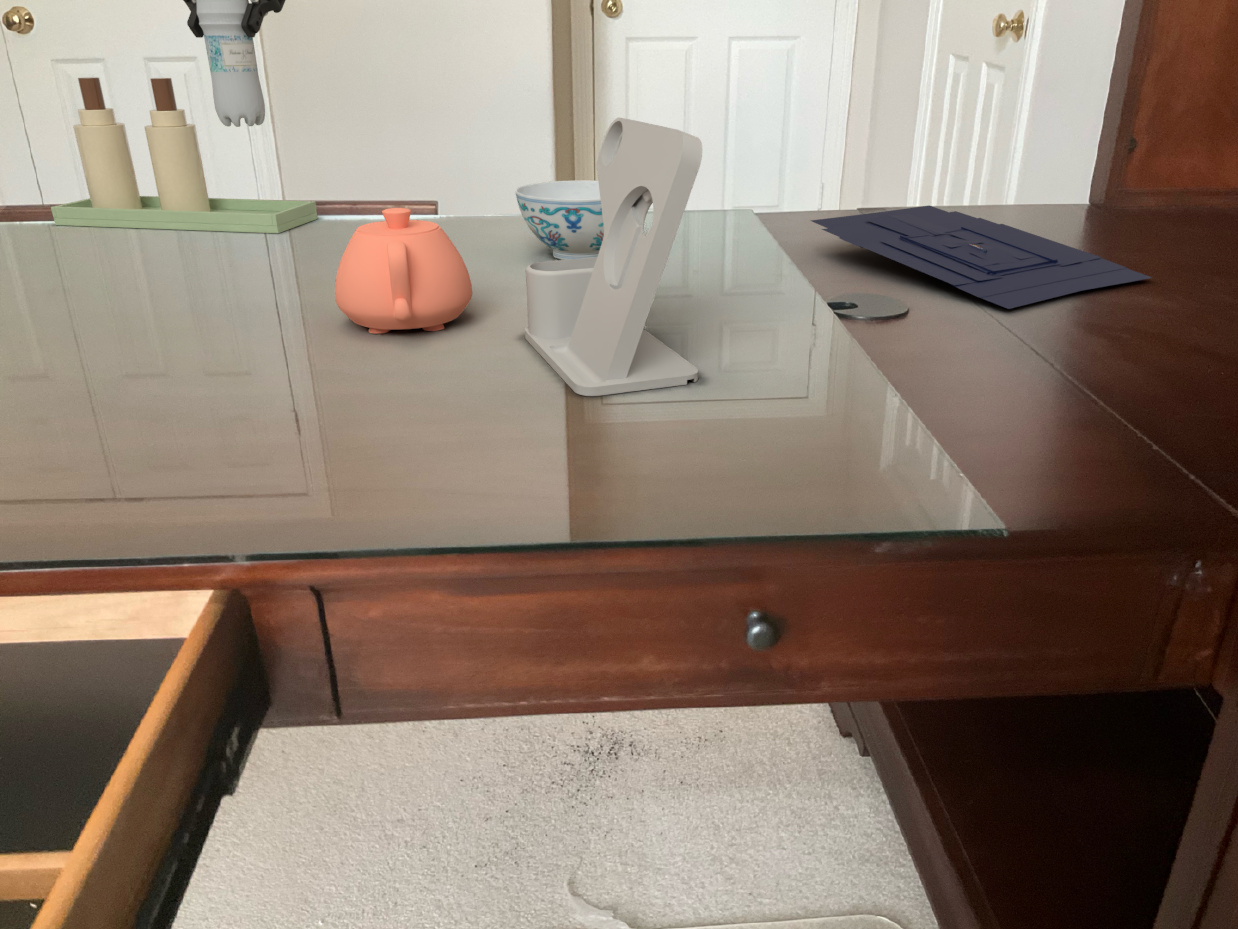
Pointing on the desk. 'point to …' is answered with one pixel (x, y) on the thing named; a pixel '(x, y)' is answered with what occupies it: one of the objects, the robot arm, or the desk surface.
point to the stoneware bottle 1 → (105, 152)
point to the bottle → (231, 62)
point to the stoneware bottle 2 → (175, 153)
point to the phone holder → (618, 269)
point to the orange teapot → (401, 275)
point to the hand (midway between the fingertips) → (220, 32)
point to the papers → (979, 254)
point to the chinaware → (564, 216)
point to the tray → (193, 215)
